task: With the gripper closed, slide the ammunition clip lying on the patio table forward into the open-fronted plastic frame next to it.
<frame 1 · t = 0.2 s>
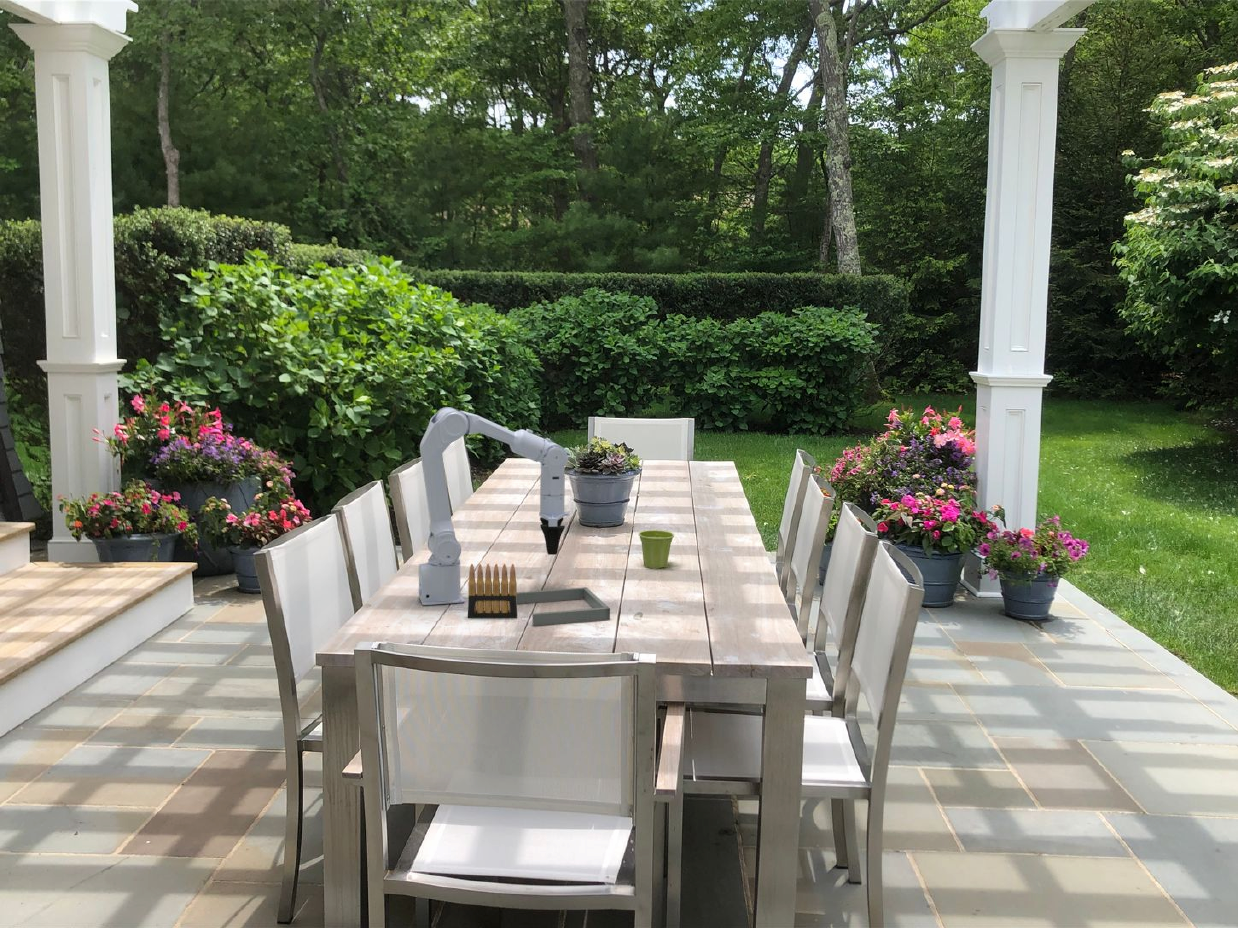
hand: (551, 550, 245), 10 cm above the table, tool pointing down, fingers open, 7 cm apart
frame: (559, 611, 231), on the table
ammunition clip: (492, 618, 226), on the table
plant pot: (655, 566, 273), on the table
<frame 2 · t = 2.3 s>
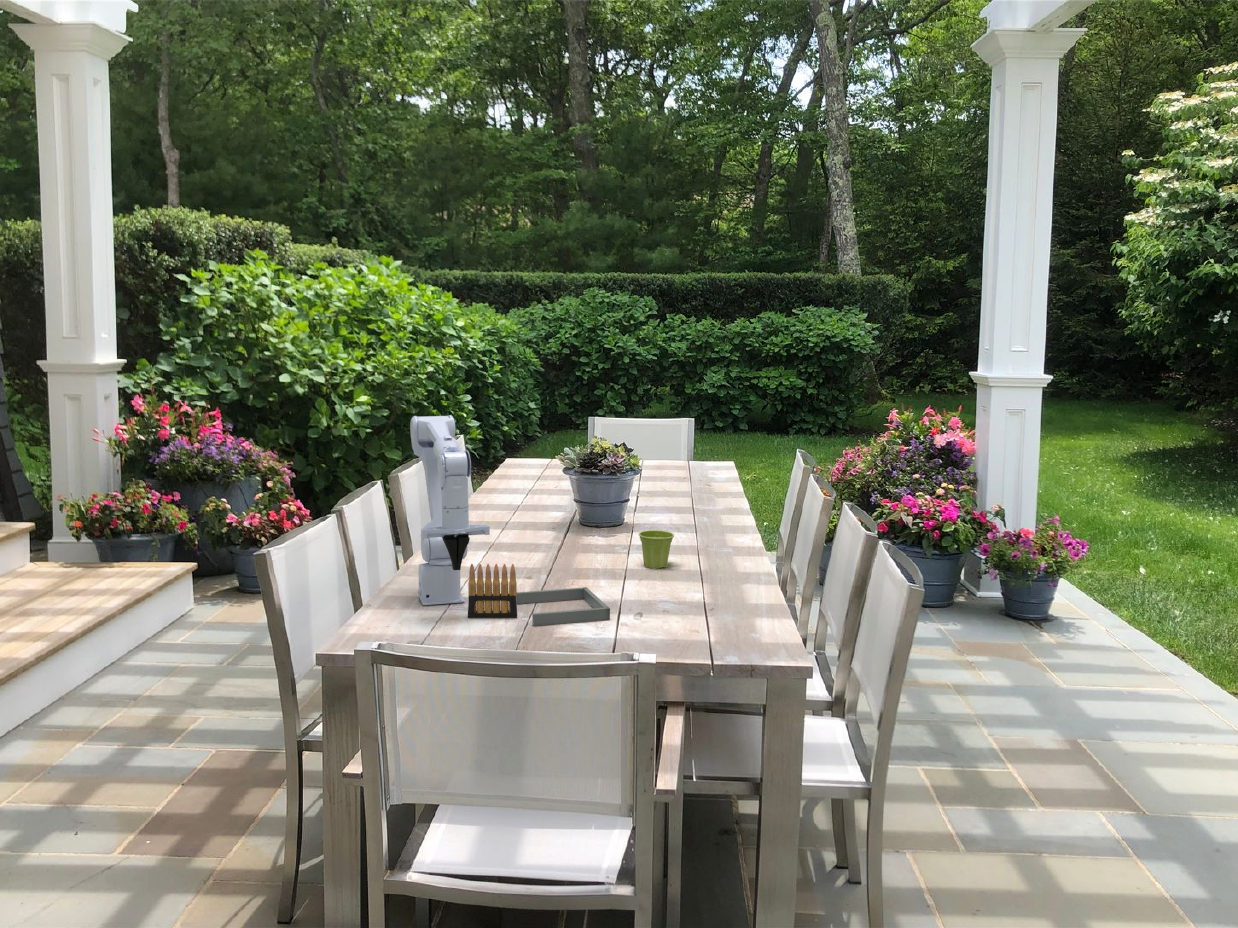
hand: (456, 569, 224), 11 cm above the table, tool pointing down, fingers closed
nothing on the table moved.
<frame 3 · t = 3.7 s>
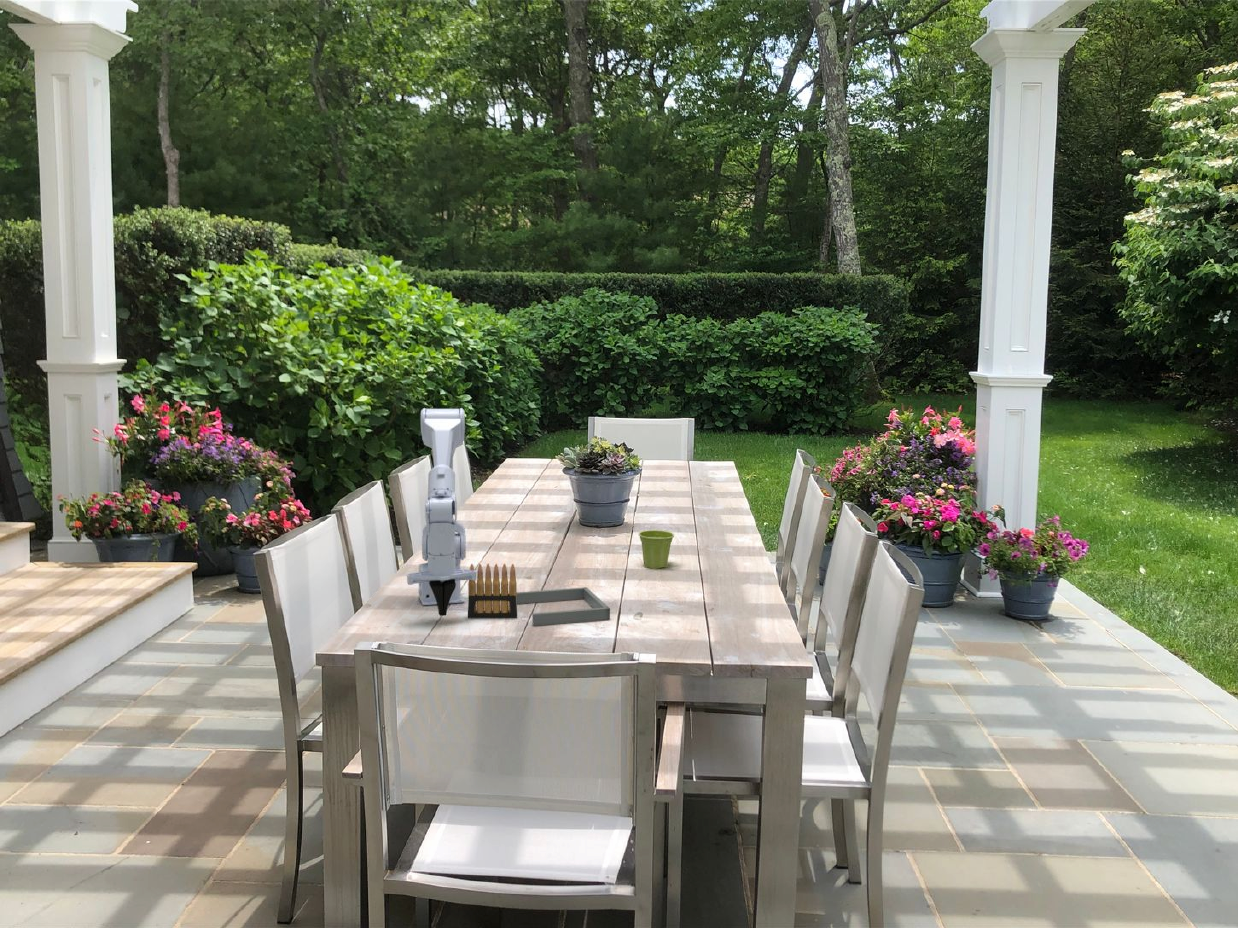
hand: (442, 614, 223), 1 cm above the table, tool pointing down, fingers closed
nothing on the table moved.
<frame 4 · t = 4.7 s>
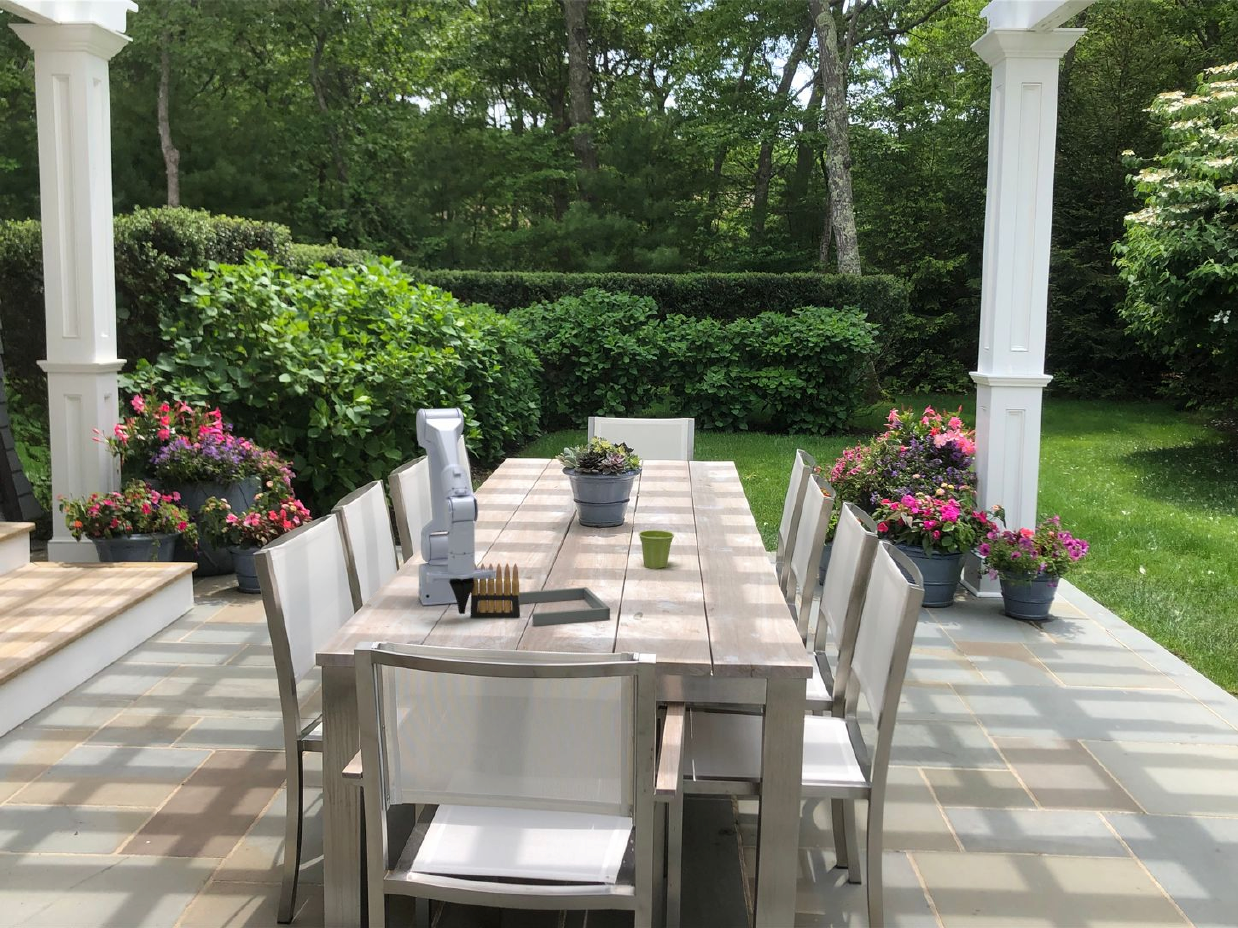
hand: (461, 612, 224), 1 cm above the table, tool pointing down, fingers closed
ammunition clip: (495, 617, 226), on the table, touching gripper
everything else where it was.
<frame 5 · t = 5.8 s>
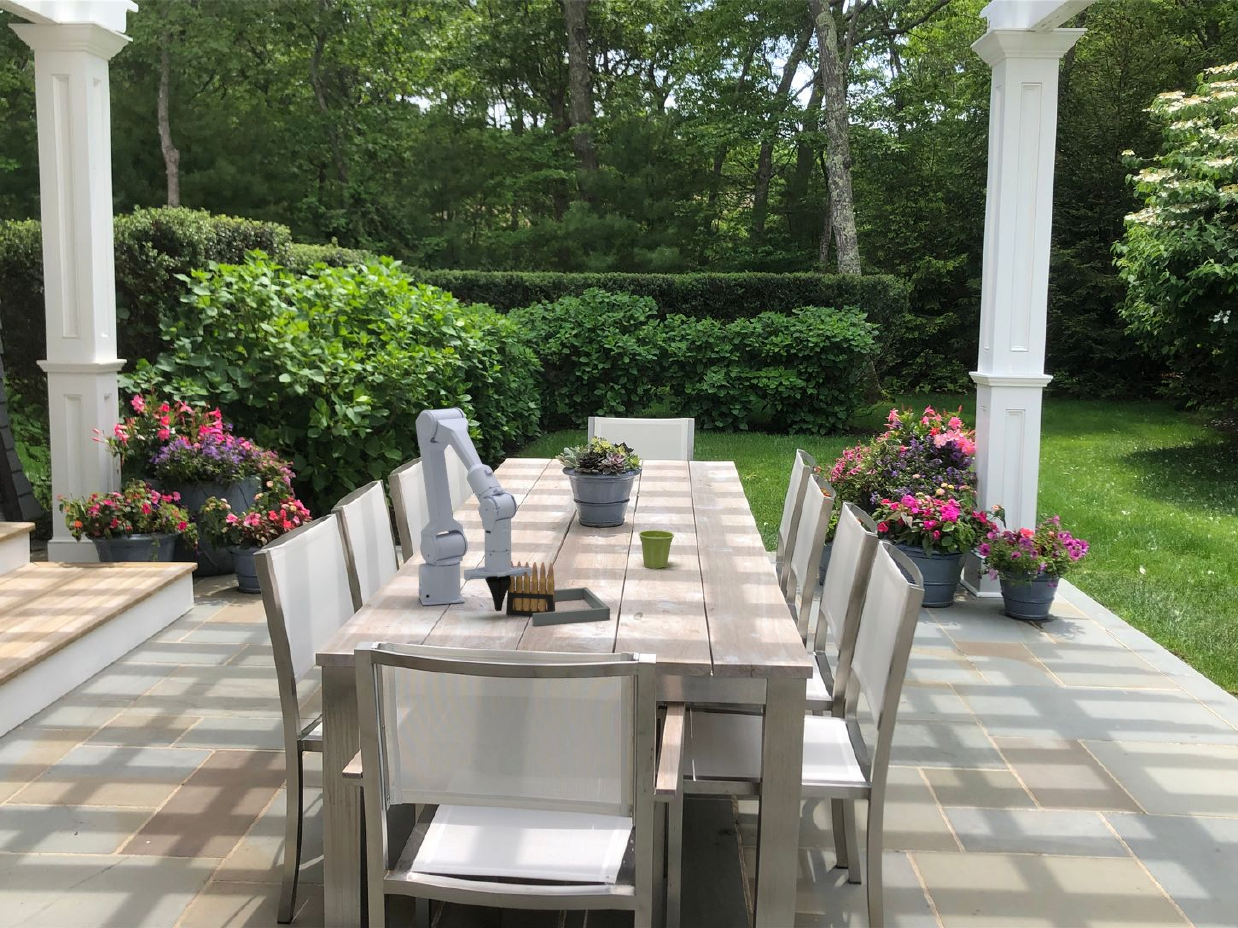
hand: (498, 609, 226), 1 cm above the table, tool pointing down, fingers closed
ammunition clip: (530, 616, 228), on the table, touching gripper
everything else where it was.
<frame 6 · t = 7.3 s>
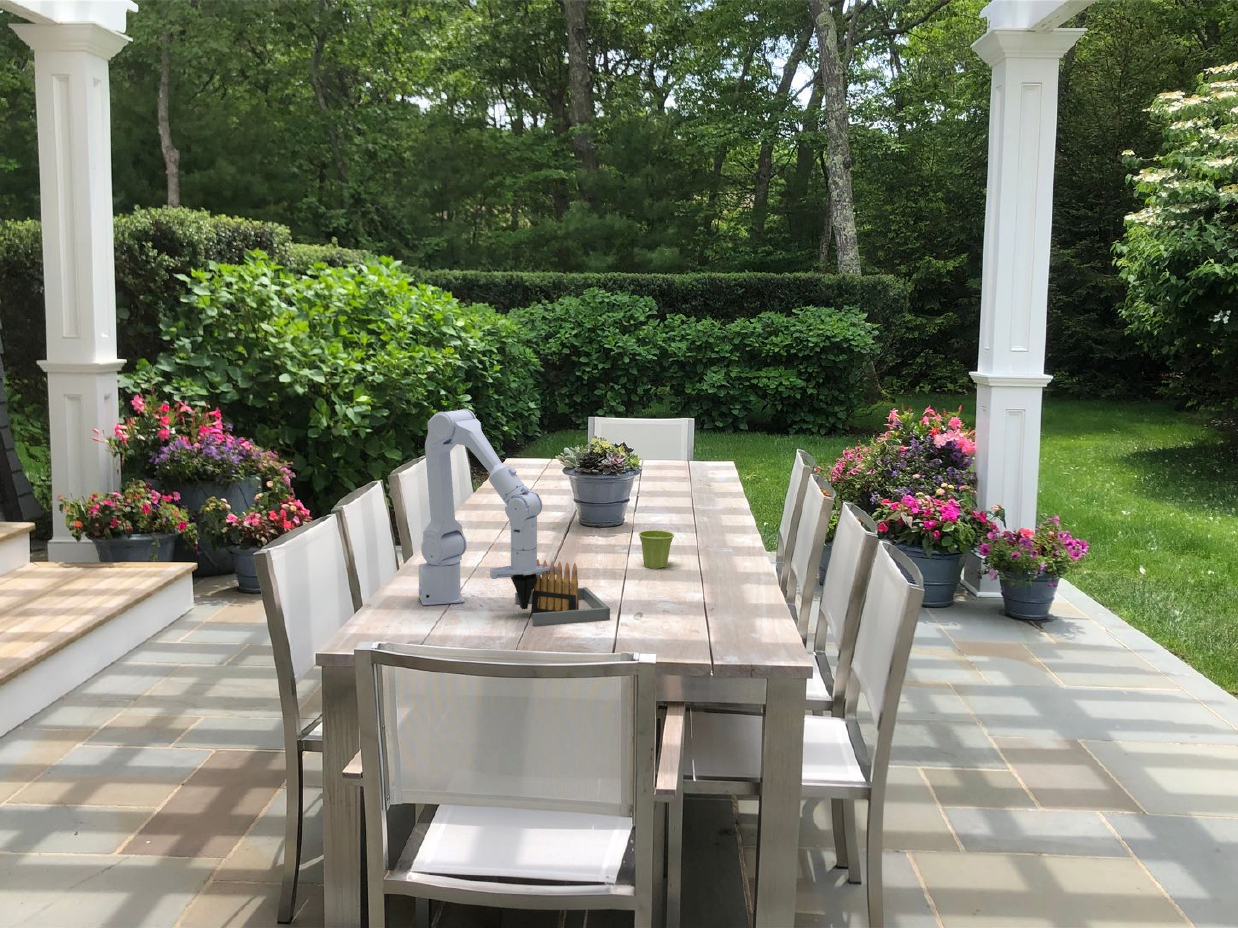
hand: (523, 607, 228), 1 cm above the table, tool pointing down, fingers closed
ammunition clip: (554, 615, 228), on the table, touching gripper
everything else where it was.
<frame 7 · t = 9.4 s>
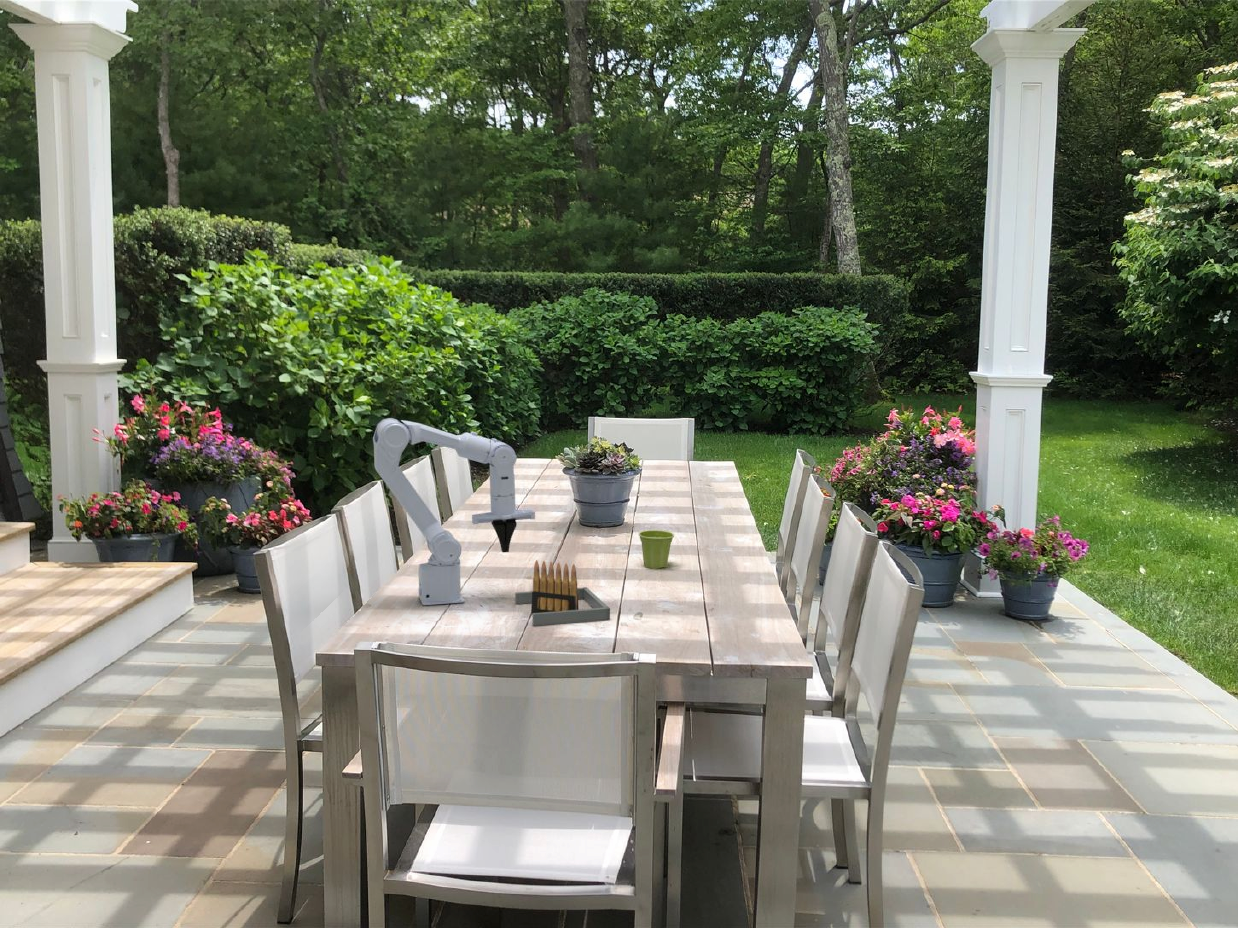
hand: (505, 551, 242), 10 cm above the table, tool pointing down, fingers closed
ammunition clip: (554, 615, 228), on the table
everything else where it was.
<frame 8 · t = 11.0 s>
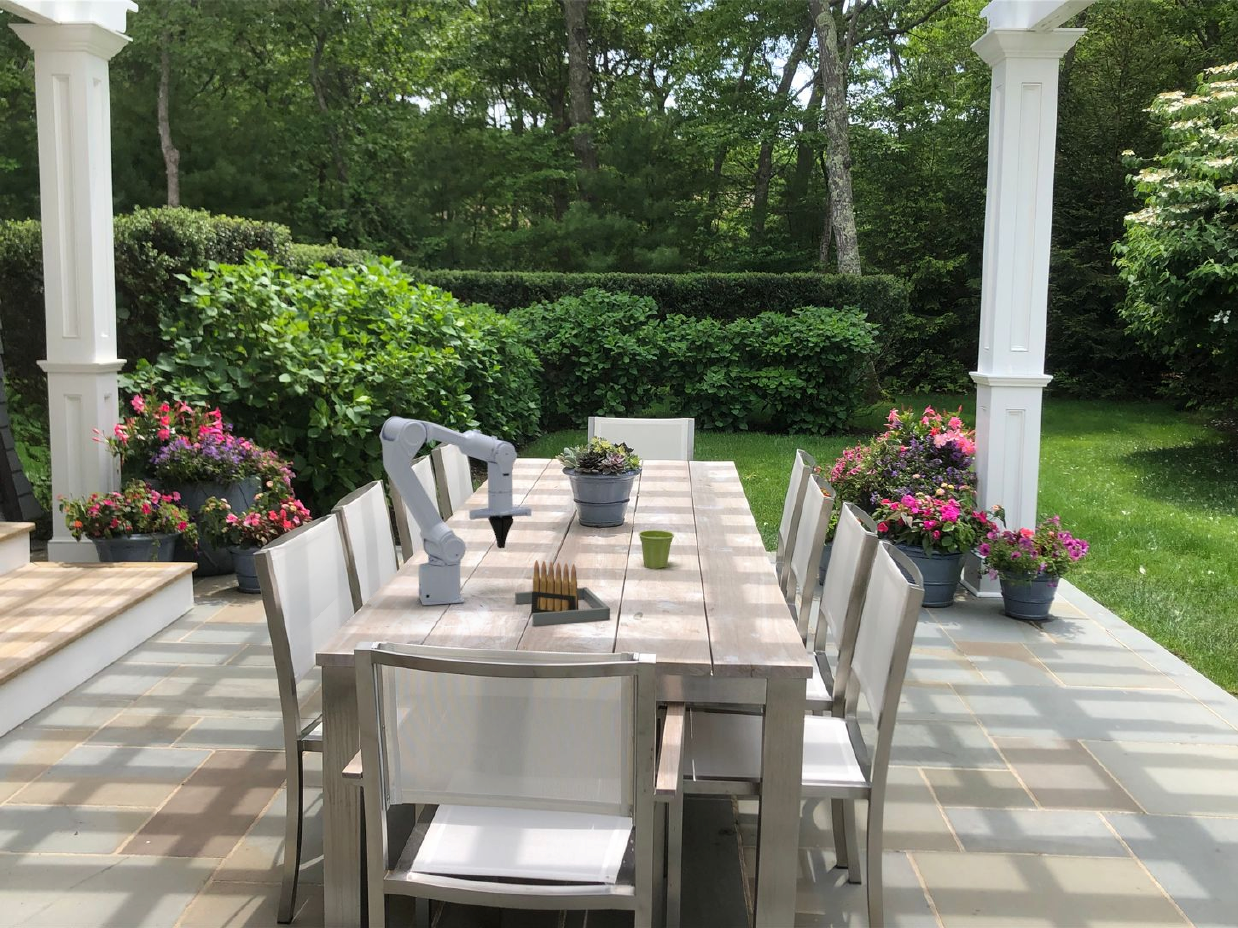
hand: (501, 547, 246), 10 cm above the table, tool pointing down, fingers closed
nothing on the table moved.
at the end: ammunition clip inside the target area on the frame (2.9 cm from its centre), point 0.0 cm above the frame's base; ammunition clip moved 13.6 cm from its start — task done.
